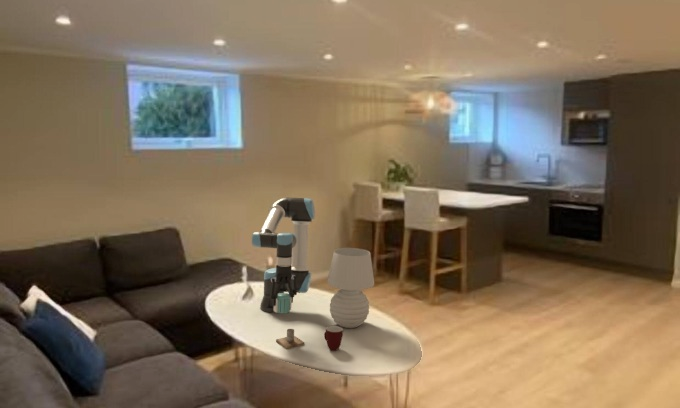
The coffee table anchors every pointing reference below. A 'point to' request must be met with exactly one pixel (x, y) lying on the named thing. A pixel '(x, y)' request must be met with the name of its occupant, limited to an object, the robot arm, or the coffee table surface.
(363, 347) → the coffee table surface
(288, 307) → the cap
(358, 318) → the table lamp
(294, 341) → the post base
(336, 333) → the mug
